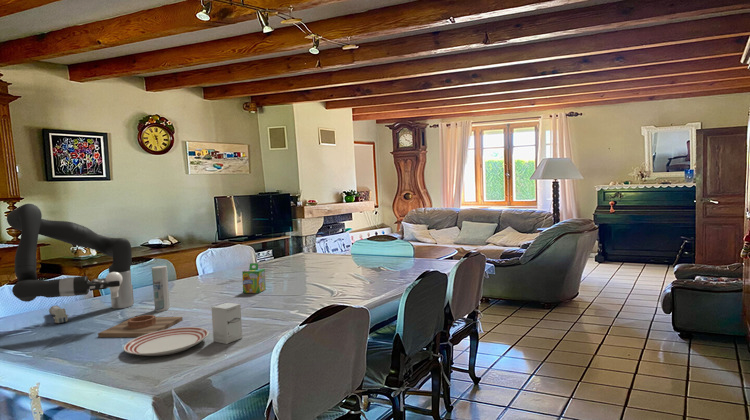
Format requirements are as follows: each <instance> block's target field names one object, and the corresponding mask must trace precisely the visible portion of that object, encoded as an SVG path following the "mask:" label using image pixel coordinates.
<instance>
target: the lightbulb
mask: <svg viewBox="0 0 750 420" xmlns="http://www.w3.org/2000/svg"><path fill="white" fill-rule="evenodd" d="M122 280H123V278H122V275H121V274H120V273H118V272H111V273H109V272H108V274H107V275H106V276H105V282H107V281H108V282H110V281H120V285H121V283H122ZM108 289H109V292H110V291H111V292H110V298H111V297H112V298H117V297H118V296H119V295H118V290H119V286H117V287H109V288H108Z"/></svg>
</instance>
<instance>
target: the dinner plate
mask: <svg viewBox="0 0 750 420" xmlns="http://www.w3.org/2000/svg"><path fill="white" fill-rule="evenodd" d="M208 330H209V329H206V328H204V327H199V326H183V327H182V326H181V327H180V326H179V327H173V328H172V327H170V328H167V329H165V330H161V331H156V332H152V333H149V334H145V335H142V336H140V337H134V338H133V339H131V340H129V341H128V342H126V343H125V344H124V346H123V351H124V352H125V353H128V354H131V355H132V354H133V355H137V356H147V357H159V356H167V355H174V354H178V353H181V352H183V351H186V350H188V349H189V350H190V348H192V347H194V346H196V345H198V344H199V343H202V341H204V340H205V339H206V338H207V337H208V336H209V333H210V331H208Z"/></svg>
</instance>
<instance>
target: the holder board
mask: <svg viewBox="0 0 750 420" xmlns="http://www.w3.org/2000/svg"><path fill="white" fill-rule="evenodd" d="M182 321H183V316H156V315H153V314H145V315H144V314H143V315H139V316H137V315H136V316H134V317H131V318H128V319H127V320H125V321H123V322H120V323H118V324H116V325H114V326H113V325H112V327H109V328H107V329H105V330H102V331H100V332H98V333H97V335H98V338H137V337H140V336H142V335H145V334H149V333H152V332H156V331H161V330H165V329H170V328H172V326H175V325H176V324H179V323H180V322H182Z"/></svg>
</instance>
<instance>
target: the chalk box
mask: <svg viewBox="0 0 750 420" xmlns="http://www.w3.org/2000/svg"><path fill="white" fill-rule="evenodd" d="M253 266H255V267H253ZM241 273H242V294H260V293H262V292H264V291H265V290H267V289H266V269H265V268H259V263H258V262H257V263H256V262H254V263H253V262H252V263H249V267H248V269H245V270H242V272H241Z"/></svg>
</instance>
